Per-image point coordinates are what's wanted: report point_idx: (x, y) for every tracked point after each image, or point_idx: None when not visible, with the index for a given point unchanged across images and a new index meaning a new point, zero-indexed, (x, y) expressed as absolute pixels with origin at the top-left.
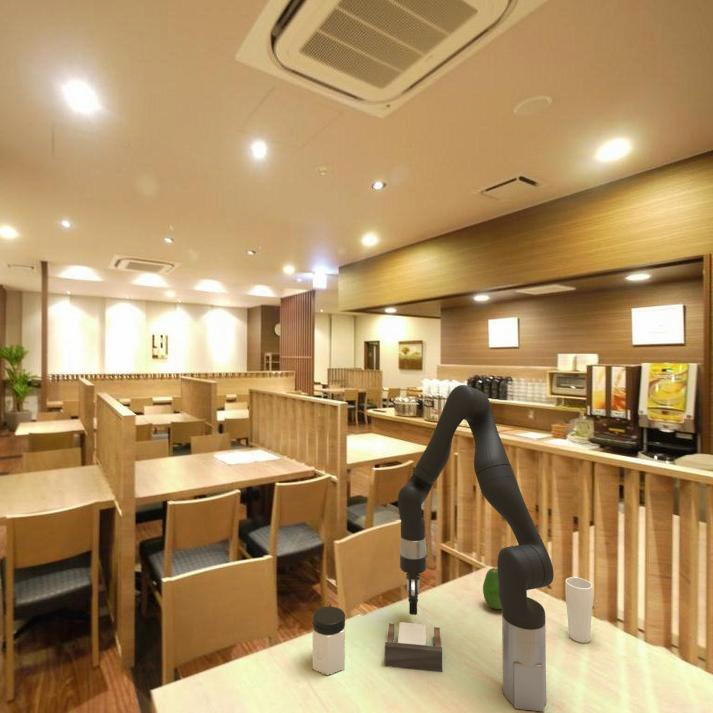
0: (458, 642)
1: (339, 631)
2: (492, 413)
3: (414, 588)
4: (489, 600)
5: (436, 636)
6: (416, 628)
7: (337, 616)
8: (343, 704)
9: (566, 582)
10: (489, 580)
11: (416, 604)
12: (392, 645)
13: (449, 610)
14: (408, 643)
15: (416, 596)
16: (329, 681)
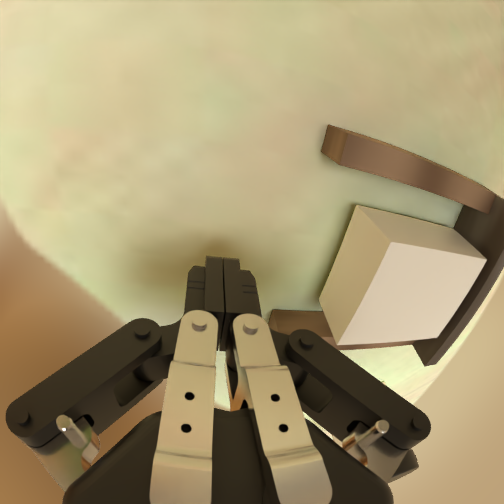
0: (377, 51)
1: (412, 450)
2: None
3: (401, 458)
4: None
5: (411, 175)
6: (404, 286)
7: (398, 476)
8: (447, 361)
9: None
10: None
11: (243, 302)
12: (445, 350)
13: (73, 32)
14: (455, 311)
15: (394, 398)
16: (398, 388)
